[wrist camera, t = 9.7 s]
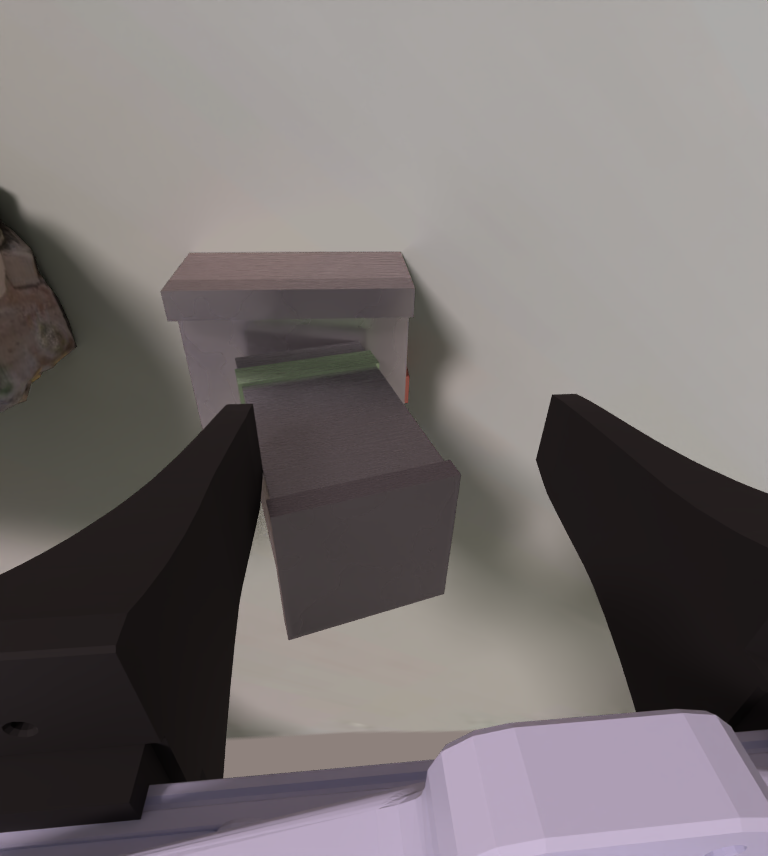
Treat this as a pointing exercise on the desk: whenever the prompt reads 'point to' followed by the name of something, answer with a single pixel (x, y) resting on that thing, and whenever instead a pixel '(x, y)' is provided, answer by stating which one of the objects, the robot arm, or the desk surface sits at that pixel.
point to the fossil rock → (26, 321)
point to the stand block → (287, 312)
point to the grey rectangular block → (346, 486)
